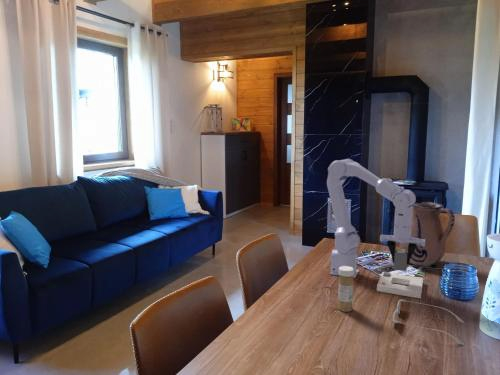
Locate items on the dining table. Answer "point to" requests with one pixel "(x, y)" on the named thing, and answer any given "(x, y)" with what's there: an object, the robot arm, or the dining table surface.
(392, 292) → the socket plate
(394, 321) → the eyeglasses
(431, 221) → the ceramic pitcher
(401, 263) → the plug
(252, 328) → the dining table surface
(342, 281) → the sprinkles bottle
